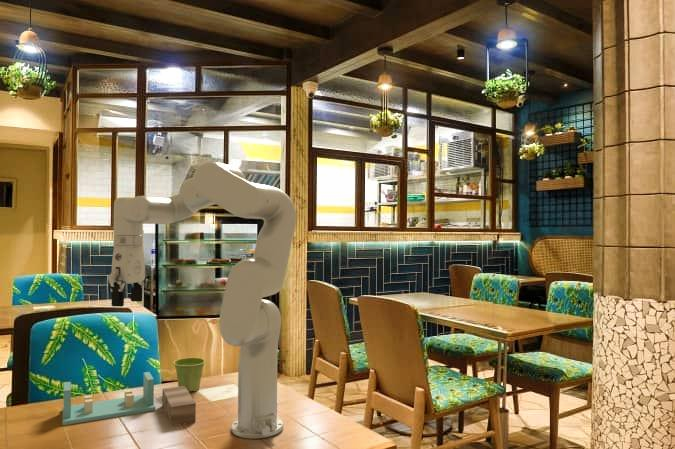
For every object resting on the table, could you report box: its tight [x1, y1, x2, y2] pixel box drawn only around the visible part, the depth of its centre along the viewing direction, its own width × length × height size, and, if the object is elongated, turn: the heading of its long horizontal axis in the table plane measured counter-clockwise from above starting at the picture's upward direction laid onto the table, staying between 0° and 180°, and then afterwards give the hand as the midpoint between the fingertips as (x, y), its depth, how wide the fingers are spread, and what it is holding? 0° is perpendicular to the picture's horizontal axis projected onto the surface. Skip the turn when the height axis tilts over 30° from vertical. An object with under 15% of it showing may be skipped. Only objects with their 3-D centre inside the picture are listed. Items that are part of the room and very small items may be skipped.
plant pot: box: [173, 357, 206, 393], centre depth 152 cm, size 9×9×9 cm
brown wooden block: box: [161, 386, 197, 427], centre depth 132 cm, size 16×6×5 cm, turn 27°
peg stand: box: [61, 371, 156, 426], centre depth 134 cm, size 22×12×8 cm, turn 119°
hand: (127, 303), depth 137 cm, fingers open, 9 cm apart
